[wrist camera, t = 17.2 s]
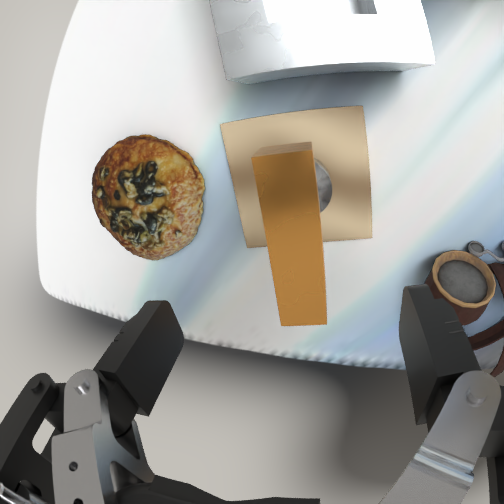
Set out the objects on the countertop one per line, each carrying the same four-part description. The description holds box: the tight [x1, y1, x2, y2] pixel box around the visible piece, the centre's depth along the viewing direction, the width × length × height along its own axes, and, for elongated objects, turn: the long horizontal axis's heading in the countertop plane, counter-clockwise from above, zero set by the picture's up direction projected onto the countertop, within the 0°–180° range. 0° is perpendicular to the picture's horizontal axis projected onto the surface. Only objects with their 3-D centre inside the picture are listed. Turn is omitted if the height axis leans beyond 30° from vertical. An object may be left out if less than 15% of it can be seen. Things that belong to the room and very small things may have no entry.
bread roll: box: [92, 135, 205, 260], centre depth 23 cm, size 11×11×5 cm
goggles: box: [424, 241, 504, 377], centre depth 20 cm, size 15×13×10 cm
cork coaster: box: [220, 106, 372, 248], centre depth 21 cm, size 10×10×1 cm
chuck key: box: [251, 141, 332, 326], centre depth 16 cm, size 4×8×10 cm, turn 11°
